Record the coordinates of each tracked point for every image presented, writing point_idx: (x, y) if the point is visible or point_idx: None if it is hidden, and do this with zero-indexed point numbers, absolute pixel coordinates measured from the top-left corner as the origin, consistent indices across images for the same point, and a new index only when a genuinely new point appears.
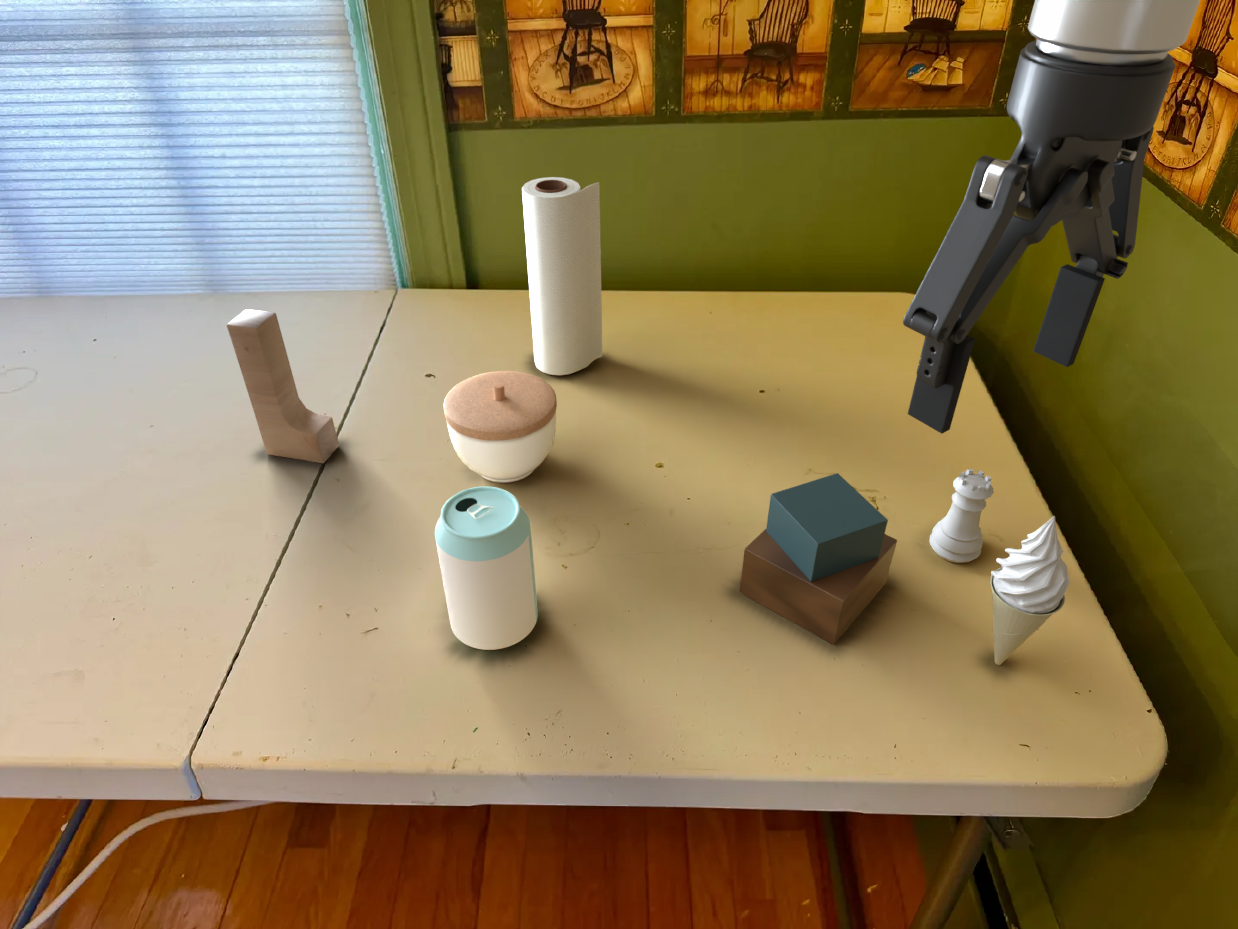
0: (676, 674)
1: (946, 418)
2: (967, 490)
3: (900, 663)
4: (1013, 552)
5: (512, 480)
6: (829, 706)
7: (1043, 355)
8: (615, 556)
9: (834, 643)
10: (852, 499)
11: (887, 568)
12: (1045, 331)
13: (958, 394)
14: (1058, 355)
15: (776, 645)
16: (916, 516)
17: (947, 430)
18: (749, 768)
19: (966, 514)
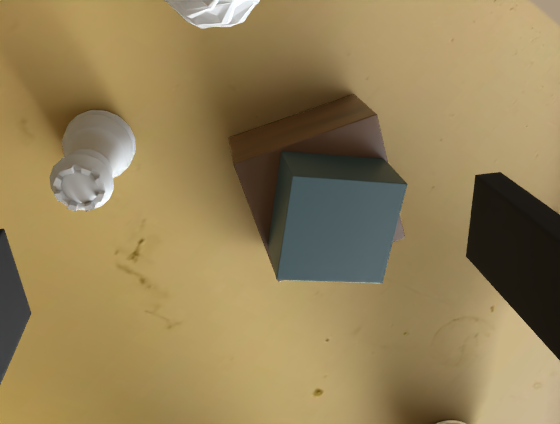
0: (509, 146)
1: (521, 188)
2: (104, 178)
3: (309, 31)
4: (235, 5)
5: (455, 421)
6: (421, 28)
7: (23, 289)
8: (445, 300)
9: (353, 94)
10: (302, 229)
11: (240, 145)
12: (9, 342)
13: (530, 216)
14: (6, 267)
15: (404, 126)
16: (103, 208)
17: (484, 174)
18: (541, 12)
19: (104, 156)
